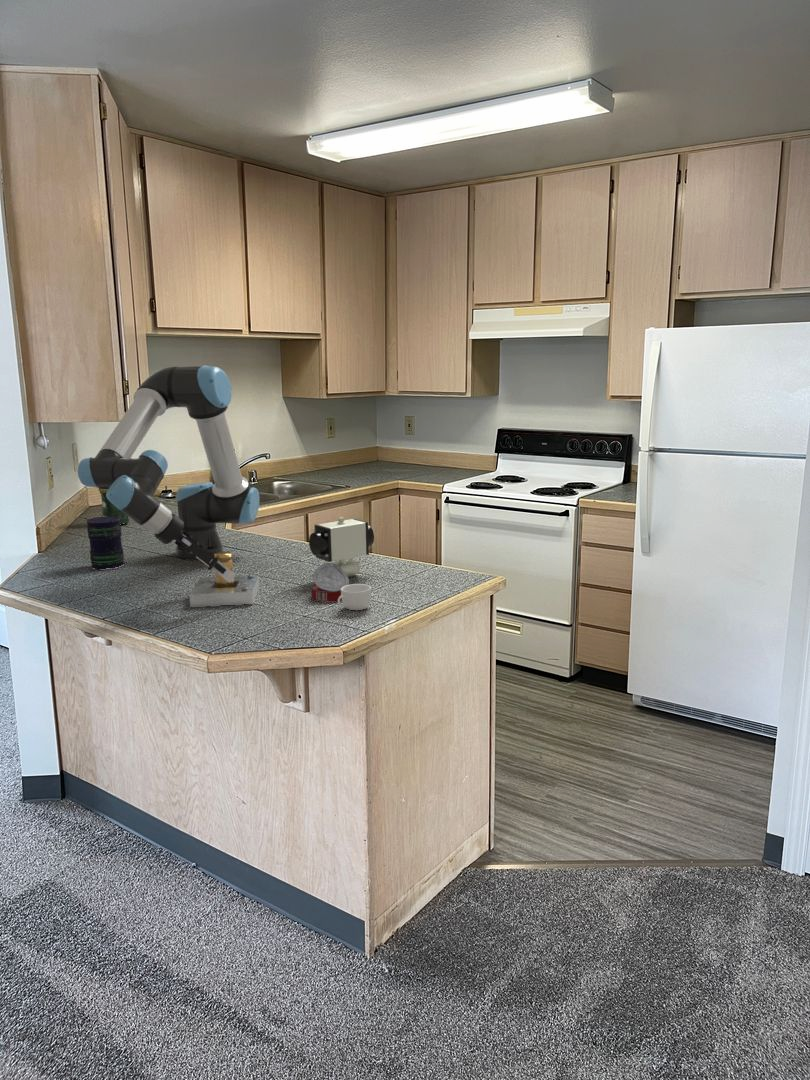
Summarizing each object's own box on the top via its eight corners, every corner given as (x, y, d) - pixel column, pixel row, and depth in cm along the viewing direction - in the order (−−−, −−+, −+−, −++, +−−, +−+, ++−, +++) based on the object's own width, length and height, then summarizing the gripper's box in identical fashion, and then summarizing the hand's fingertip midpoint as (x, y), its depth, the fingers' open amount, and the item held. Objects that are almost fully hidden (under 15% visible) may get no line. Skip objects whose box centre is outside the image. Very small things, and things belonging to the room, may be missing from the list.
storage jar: (84, 568, 248) (79, 521, 245) (109, 561, 256) (104, 515, 253) (107, 571, 243) (102, 523, 240) (131, 564, 252) (127, 517, 249)
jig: (201, 589, 222) (200, 575, 221) (259, 587, 223) (258, 573, 222) (190, 607, 206) (189, 592, 206) (252, 604, 208) (252, 589, 207)
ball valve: (359, 569, 241) (357, 511, 237) (375, 574, 234) (374, 515, 230) (307, 579, 231) (304, 519, 227) (323, 586, 224) (320, 523, 220)
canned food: (345, 609, 218) (362, 577, 216) (334, 616, 209) (351, 584, 207) (310, 588, 220) (326, 557, 218) (297, 594, 210) (314, 562, 208)
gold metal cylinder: (218, 595, 217) (215, 552, 214) (235, 594, 217) (233, 551, 215) (215, 600, 212) (212, 556, 210) (233, 599, 213) (230, 555, 210)
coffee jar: (123, 521, 320) (118, 475, 316) (131, 524, 314) (127, 477, 310) (99, 525, 314) (94, 478, 310) (107, 528, 308) (102, 480, 304)
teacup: (357, 602, 209) (357, 582, 207) (378, 607, 203) (377, 587, 202) (328, 610, 202) (327, 590, 200) (349, 617, 196) (348, 596, 195)
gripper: (142, 527, 213) (202, 573, 223) (165, 544, 191) (230, 595, 202) (161, 505, 214) (220, 552, 224) (185, 520, 193) (249, 572, 203)
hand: (224, 573), depth 213 cm, fingers open, 13 cm apart
